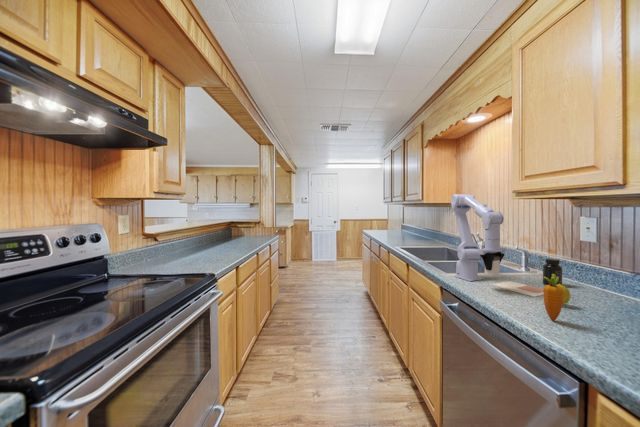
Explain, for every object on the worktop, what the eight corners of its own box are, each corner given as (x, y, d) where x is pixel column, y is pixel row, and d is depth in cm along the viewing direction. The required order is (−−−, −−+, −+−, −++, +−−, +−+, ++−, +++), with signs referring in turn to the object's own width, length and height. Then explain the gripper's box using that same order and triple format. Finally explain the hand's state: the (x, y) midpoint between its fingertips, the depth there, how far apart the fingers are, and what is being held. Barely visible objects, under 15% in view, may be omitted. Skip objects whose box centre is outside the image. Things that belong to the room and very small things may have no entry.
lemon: (574, 308, 96) (574, 286, 96) (558, 308, 96) (558, 286, 96) (560, 302, 101) (560, 281, 101) (545, 302, 102) (546, 281, 101)
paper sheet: (491, 285, 124) (491, 284, 124) (510, 281, 129) (510, 280, 129) (534, 297, 108) (534, 295, 108) (554, 292, 112) (554, 291, 112)
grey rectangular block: (484, 273, 120) (484, 255, 119) (490, 272, 121) (490, 255, 121) (493, 275, 116) (493, 257, 116) (499, 274, 117) (499, 256, 117)
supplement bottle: (561, 284, 124) (561, 258, 124) (563, 288, 119) (563, 261, 119) (542, 282, 128) (542, 257, 128) (543, 285, 123) (543, 259, 123)
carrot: (556, 325, 82) (556, 277, 82) (539, 318, 87) (539, 273, 87) (567, 323, 84) (568, 275, 83) (549, 316, 89) (550, 272, 88)
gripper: (489, 241, 112) (489, 273, 112) (512, 239, 117) (512, 269, 117) (474, 239, 118) (474, 269, 118) (496, 237, 124) (496, 266, 124)
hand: (492, 269), depth 118 cm, fingers closed on grey rectangular block, 4 cm apart
